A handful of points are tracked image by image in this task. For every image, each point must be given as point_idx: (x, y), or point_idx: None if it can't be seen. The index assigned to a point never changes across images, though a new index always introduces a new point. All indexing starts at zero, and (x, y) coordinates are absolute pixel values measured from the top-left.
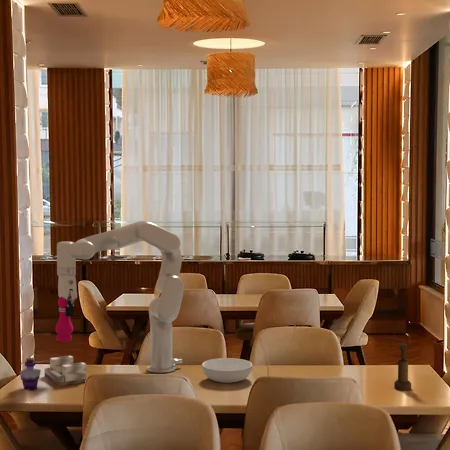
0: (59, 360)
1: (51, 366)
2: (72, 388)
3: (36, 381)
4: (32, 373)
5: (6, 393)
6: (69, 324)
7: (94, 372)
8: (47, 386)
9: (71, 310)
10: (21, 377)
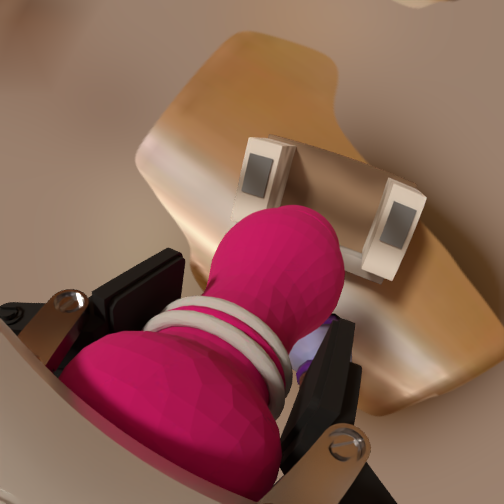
0: (269, 204)
1: None
2: (429, 266)
3: None
4: None
5: None
6: (327, 294)
7: (327, 80)
8: (352, 293)
9: (350, 402)
10: None
